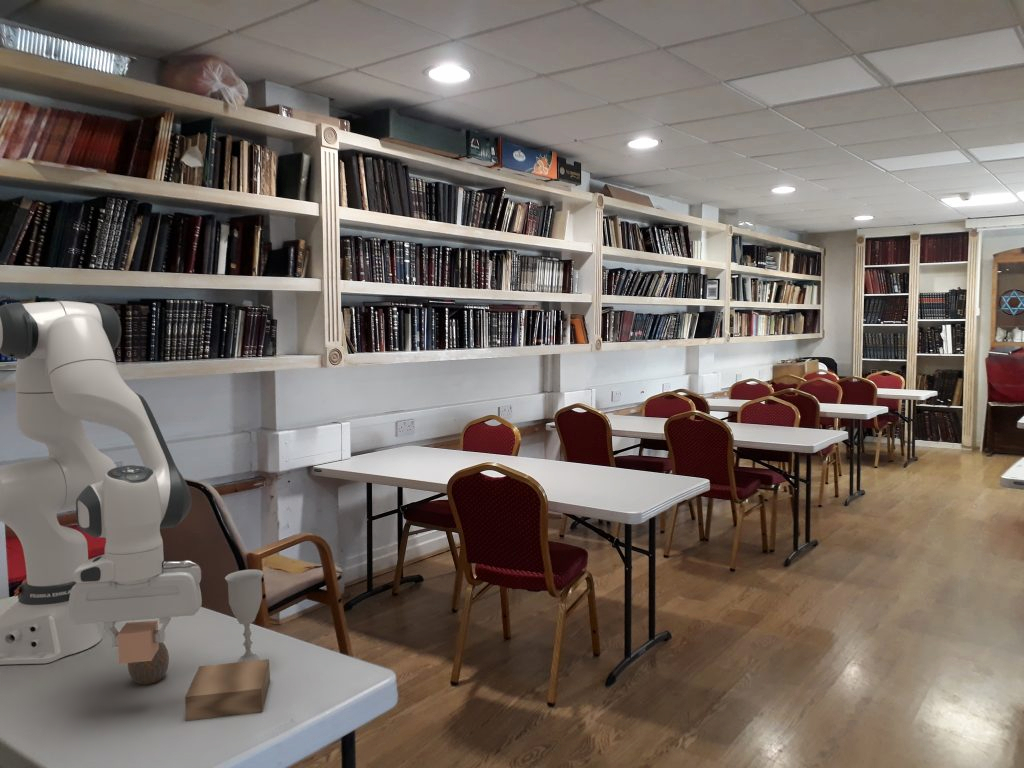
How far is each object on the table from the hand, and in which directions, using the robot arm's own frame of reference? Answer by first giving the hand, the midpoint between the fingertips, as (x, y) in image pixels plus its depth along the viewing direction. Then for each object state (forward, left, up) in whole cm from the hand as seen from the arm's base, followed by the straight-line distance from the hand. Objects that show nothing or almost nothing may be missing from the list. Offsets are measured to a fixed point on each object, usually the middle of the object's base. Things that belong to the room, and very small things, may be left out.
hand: (138, 643), depth 131 cm
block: (0, 0, -2) cm, 2 cm away
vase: (-2, +12, -12) cm, 17 cm away
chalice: (+16, +12, -12) cm, 23 cm away
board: (+14, 0, -11) cm, 18 cm away
